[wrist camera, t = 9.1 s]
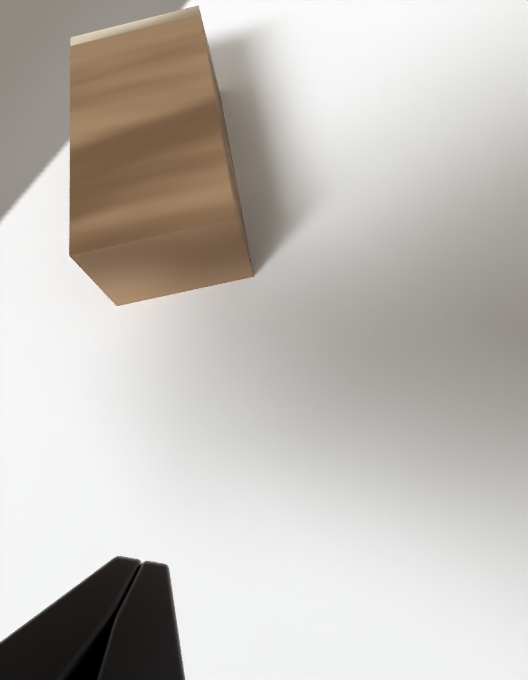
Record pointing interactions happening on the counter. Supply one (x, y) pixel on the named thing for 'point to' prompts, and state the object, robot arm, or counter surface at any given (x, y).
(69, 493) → the counter surface
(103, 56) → the walnut block
